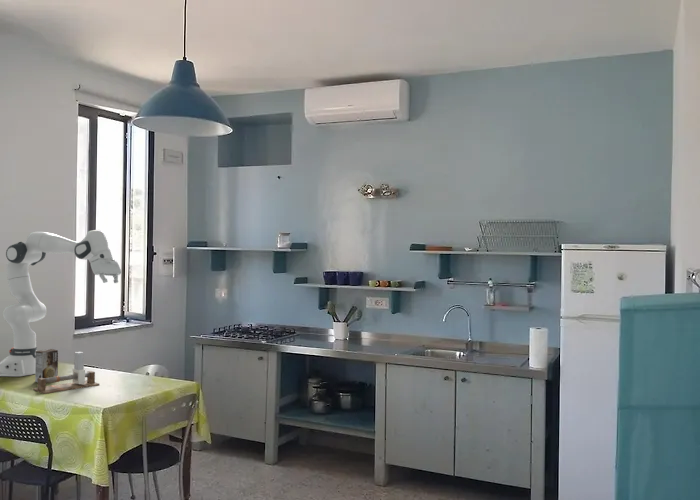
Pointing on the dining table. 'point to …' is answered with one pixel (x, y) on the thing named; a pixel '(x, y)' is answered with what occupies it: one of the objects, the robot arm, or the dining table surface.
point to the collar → (79, 367)
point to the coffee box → (46, 364)
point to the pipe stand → (63, 387)
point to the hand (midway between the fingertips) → (111, 282)
